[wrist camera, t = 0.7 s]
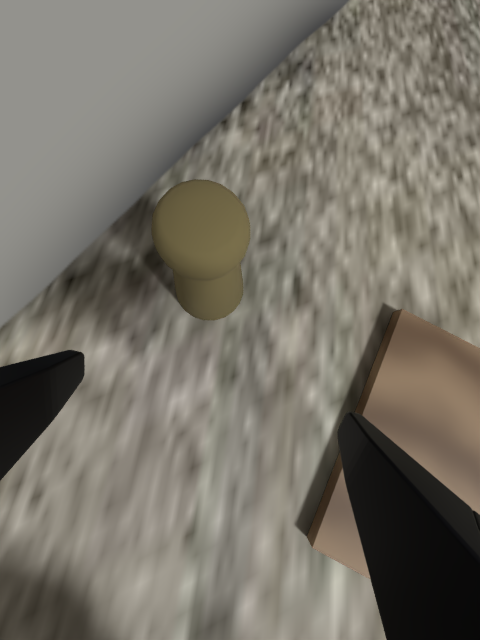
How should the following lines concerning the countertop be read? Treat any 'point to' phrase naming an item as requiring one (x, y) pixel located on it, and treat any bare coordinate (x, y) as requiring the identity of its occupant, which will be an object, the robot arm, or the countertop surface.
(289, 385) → the countertop surface
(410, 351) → the walnut board
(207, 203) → the cork
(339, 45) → the countertop surface
